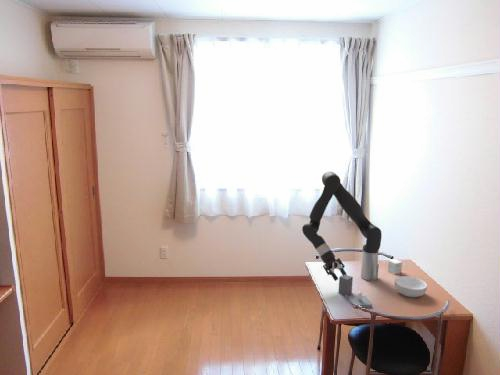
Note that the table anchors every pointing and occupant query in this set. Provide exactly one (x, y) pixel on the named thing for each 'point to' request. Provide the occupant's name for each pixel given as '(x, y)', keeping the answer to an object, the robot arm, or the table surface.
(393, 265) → the product box
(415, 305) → the table surface
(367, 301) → the stub base
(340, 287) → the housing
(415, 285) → the cereal bowl
